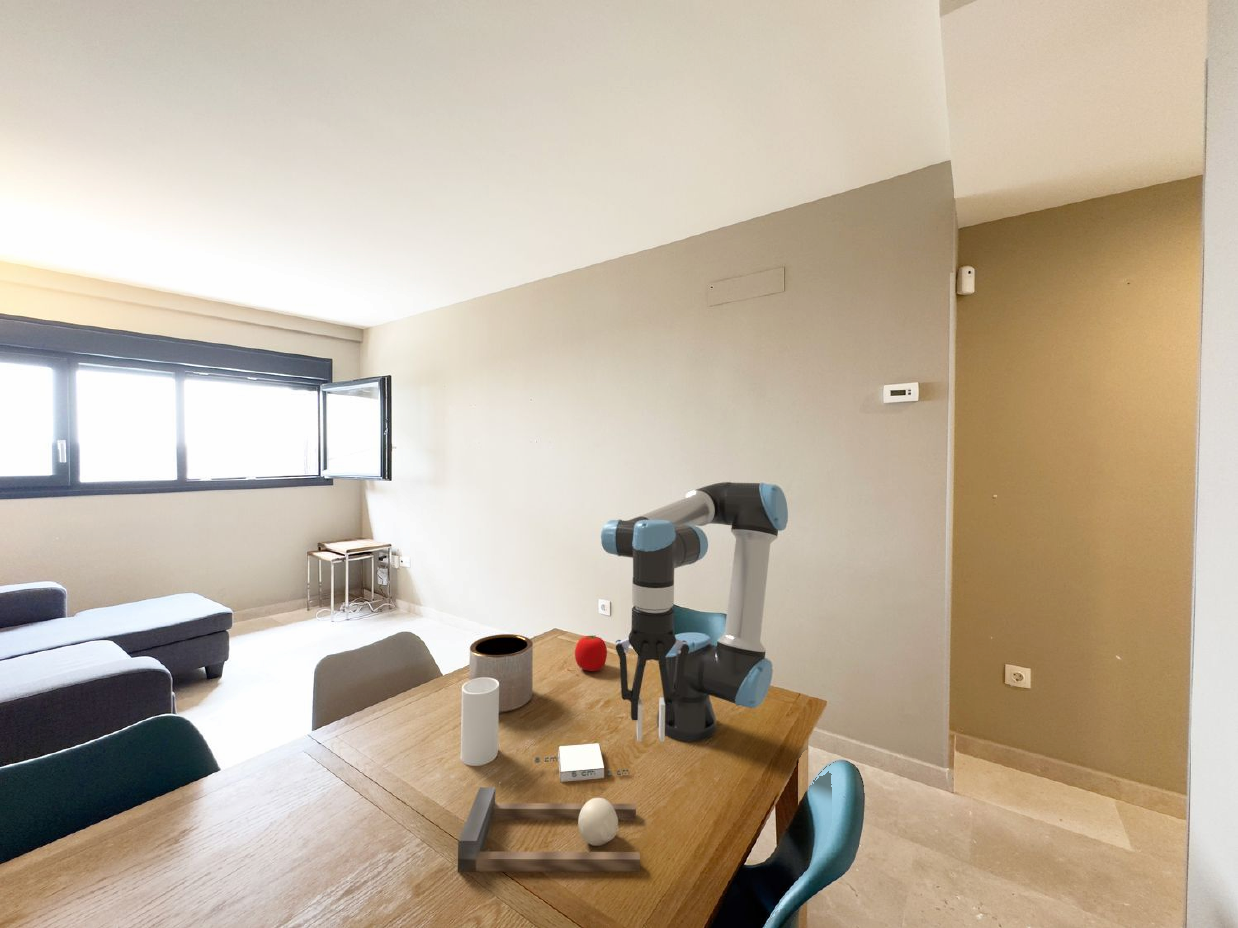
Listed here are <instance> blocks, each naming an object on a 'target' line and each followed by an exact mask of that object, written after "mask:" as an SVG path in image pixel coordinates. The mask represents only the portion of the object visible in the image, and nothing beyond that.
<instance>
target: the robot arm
mask: <svg viewBox="0 0 1238 928" xmlns="http://www.w3.org/2000/svg"><path fill="white" fill-rule="evenodd" d="M787 502H788V501H787V498H786V495H785V493H784V491H783V489H782V488H781V487H780V486H779V485H777V484H773V483H764V482H731V481H730V482H729V481H723V482H716V483H713V484H709V485H705V486H703V487H699V488H697V489H696V488H695V489H694V490H691V491H690V492H688V493H686V494H685V496H684V498H682V499H679V500H676V501H674V502H671V503H669V504H667V505H664V506H662V507H659V508H657V509H654V510H651V511H649V512H647V513H644V514H642V515H639V516H637V517H634V518H633V517H632V518H631V519H628V520H623V519H611V520H608V521H607V522H606V523H605V524H604V525H603V527H602V530H601V534H600V538H601V539H600V541H601V542H600V543H601V546H602V549H603V550H604V552H606V553H607V554H611V555H615V556H617V557H626V558H631V559H632V584H631V585H632V586H631V587H632V589H631V604H632V605H633V607H631V630H630V632H629V634H628V637H627V638H624V639H622V640H621V639H617V640H616V641H615V651H616V653H617V655H618V658H619V669H620V670H619V671H620V676H619V677H620V691H621V699H622V700H623V701H629V702H630V717H631V718H630V719H631V720H632V721H636V741H637V742H642V740H643V738H642V737H643V700H642V699H643V698H642V697H641V696H640V694H641V690H642V684H643V679H644V673H645V669H646V665H647V661H651V660H653V661H656V662H657V661H658V668H659V673H660V681H661V686H662V695H663V696H662V697H660V696H659V698H658V701H659V703H658V704H659V706H658V708H659V709H658V711H657V716H656V717H657V718H656V722H657V728H658V737H659V740H660V742H662V743H663V742H666V741H665V740H666V739H665V735H666V736H667V737H669V738H672V739H674V740H677V741H682V742H688V743H689V742H692V743H693V742H701V741H705V740H708V739H709V738H711V737H712V736H713V735H714V734H715V733H716V730H717V719H716V715H715V711H714V708H713V704H712V702H711V697H710V696H712V697H714V698H718V699H720V700H724V701H726V702H729V703H732V704H735V705H736V706H738V707H740V706H742V707H745V708H749V709H755V708H759V706H761V704H762V703H763V702H764V700H765V699H766V697H767V695H768V692H769V689H770V686H771V683H772V679H773V678H772V677H773V671H774V670H773V663H772V661H771V660H770V659H769V658H767V657H766V651H767V650H766V648H765V647H764V645H763V643H762V641H761V634H762V628H763V627H762V625H763V617H764V616H763V615H764V608H765V598H766V589H767V581H768V569H769V562H770V561H769V560H770V551H771V544H772V543H773V542H775V540H777V539H778V535H779V532H781V531H785V529H786V528H787V524H788V521H789V520H788V519H789V512H788V511H789V509H788V503H787ZM708 524H713V525H715V524H716V525H725V526H730V527H731V528H730V532H731V533H732V535H733V536H734V538H735V544H734V545H735V546H734V552H733V561H732V570H731V578H730V586H729V595H728V602H727V608H726V609H727V610H726V619H725V627H724V633H723V634H722V636H720V637H719V638H718V639H717V640H716V645H714V644H712V640H711V637H710V635H708V634H706V633H703V632H693V631H692V632H681V633H678V634H675V633H674V609H673V606H674V605H675V569H677V568H680V567H683V566H688V565H693V564H694V563H697V562H698V561H701V560H702V559H703V558H704V557H705V556H706V554H707V552H708V549H709V540H708V537H707V535H706V533H705V532H704V531H703V529H702V528H700V527H702V526H707V525H708ZM629 646H631V647H632V649H633V650H634V651H635V653H636V655H637V659H636V666H635V670H634V671H635V672H634V676H633V681H632V688H631V689H629V685H628V684H629V683H628V682H629V681H628V666H627V664H628V663H627V662H628V660H627V653H628V652H629Z"/></svg>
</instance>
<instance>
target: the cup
mask: <svg viewBox="0 0 1238 928" xmlns="http://www.w3.org/2000/svg"><path fill="white" fill-rule="evenodd" d="M499 714H500V713H499V682H498V681H497V680H495V679H493V678H476V679H472V680H470V681H469V680H468V681H466V682H465V683H463V685H462V686H461V719H460V720H461V721H460V723H461V724H460V726H461V727H460V761H461V762H462V764H465V765H466V766H473V767H477V766H478V767H479V766H483V765H486V764H489V763H491V762H492V761H494V760H495V759H496V757H497V756H498V753H499V752H498V751H499Z"/></svg>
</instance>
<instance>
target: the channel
mask: <svg viewBox="0 0 1238 928" xmlns="http://www.w3.org/2000/svg"><path fill="white" fill-rule="evenodd" d="M585 803H586V802H585ZM585 803H583V802H581V803H579V802H578V803H572V802H571V803H569V802H568V803H567V802H566V803H563V802H562V803H560V802H558V803H556V802H555V803H554V802H552V803H551V802H549V803H548V802H547V803H543V802H540V803H539V802H526V803H523V802H519V803H518V802H508V803H507V802H498V803H497V802H496V787H495V786H493V787H490V786H488V787H486V786H485V787H483V786H481V787H479V788H478V791H477V793H476V796H475V798H474V801H473V803H472V806H471V808H470V810H469V813H468V816H467V818H466V820H465V822H464V826H463V827H462V828H463V829H462V831H461V833H460V836H459V838H458V841H457V872H640V871H641V870H640V869H641V868H640V867H641V862H640V861H641V857H640V856H641V855H640V851H484V849H485V844H486V841H487V839H488V836H489V833H490V830H491V826H492V823H493V821H494V820H550V821H551V820H553V821H554V820H558V821H559V820H560V821H561V820H564V821H565V820H567V821H568V820H569V821H570V820H577V821H578V819H579V814H580V811H581V809H582V807H583V806H584V805H585ZM610 804H611V805H612V806H613V808H614V810H615V812H616V815H617V818H618V821H624V820H625V821H635V820H636V821H637V805H636V803H610Z"/></svg>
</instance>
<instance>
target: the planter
mask: <svg viewBox="0 0 1238 928" xmlns="http://www.w3.org/2000/svg"><path fill="white" fill-rule="evenodd" d="M533 645H534V644H533V640H532V639H531V638H529V637H527V636H523V635H520V634H514V633H513V634H511V633H503V634H502V633H500V634H495V635H489V636H484V637H482V638H479V639H477V640H475V641H473V643H472V644H470V646H469V661H468V663H469V665H468V667H469V669H468V681H470V680H472V679H476V678H493V679H495V680H497V681H498V682H499V713H498V714H504V713H508V712H512V711H515V710H517V709H520V708H522V707H524V705H526V704H528V702H529V701H531V699H532V695H533V684H534V683H533V682H534V681H533V678H534V676H533V675H534V674H533V666H534V665H533V663H534V662H533V660H534V659H533V658H534V657H533V656H534V655H533V654H534V653H533V652H534V648H533V647H534V646H533Z"/></svg>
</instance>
